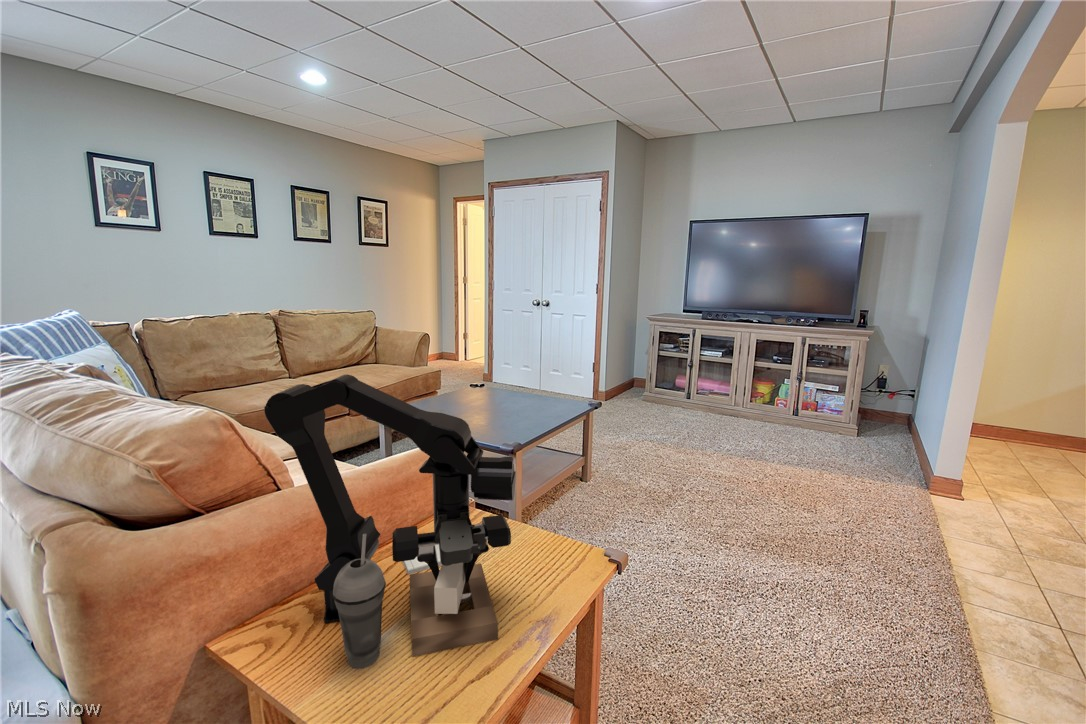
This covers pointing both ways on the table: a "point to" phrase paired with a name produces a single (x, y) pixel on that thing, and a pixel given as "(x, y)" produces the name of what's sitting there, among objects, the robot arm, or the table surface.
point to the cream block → (449, 588)
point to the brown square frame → (450, 615)
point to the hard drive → (419, 563)
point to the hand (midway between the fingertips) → (453, 583)
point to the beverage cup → (360, 609)
